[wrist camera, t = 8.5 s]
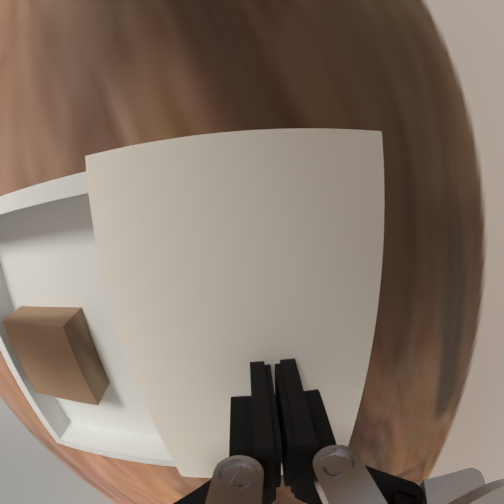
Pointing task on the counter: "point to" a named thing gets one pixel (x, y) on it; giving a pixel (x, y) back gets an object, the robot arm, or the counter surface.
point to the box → (71, 295)
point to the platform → (241, 271)
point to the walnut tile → (57, 352)
